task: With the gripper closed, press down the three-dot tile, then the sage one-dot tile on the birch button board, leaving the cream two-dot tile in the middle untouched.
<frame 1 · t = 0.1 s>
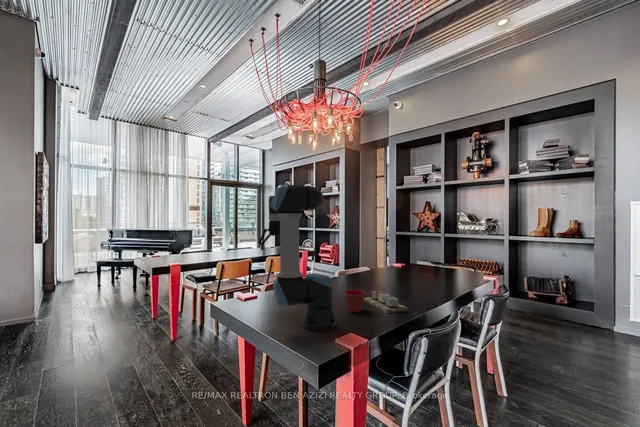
hand: (275, 255, 176), 28 cm above the table, fingers open, 13 cm apart
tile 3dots: (377, 294, 171), point 4 cm above the table, slide at 0.0 cm
flower pot: (354, 310, 155), on the table
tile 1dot: (391, 301, 156), point 4 cm above the table, slide at 0.0 cm
button board: (384, 305, 163), on the table
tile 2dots: (384, 297, 164), point 4 cm above the table, slide at 0.0 cm
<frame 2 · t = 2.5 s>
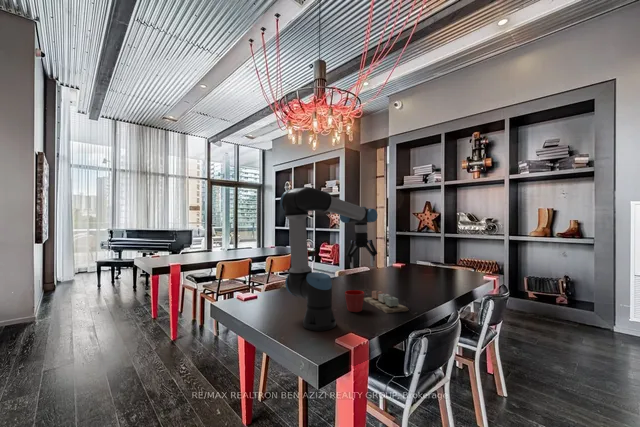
hand: (362, 267, 173), 20 cm above the table, fingers open, 13 cm apart
nothing on the table moved.
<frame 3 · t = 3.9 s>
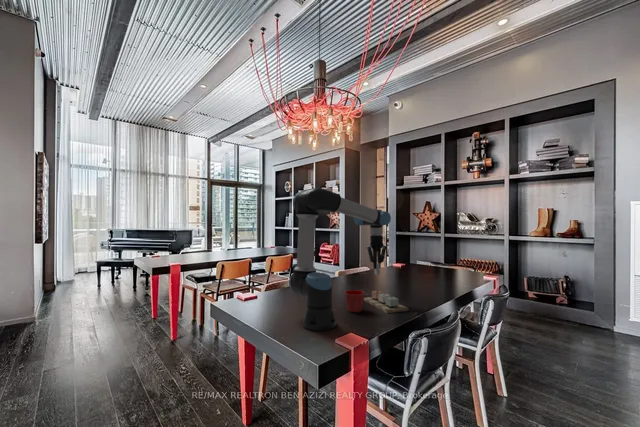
hand: (377, 274, 172), 16 cm above the table, fingers closed
nothing on the table moved.
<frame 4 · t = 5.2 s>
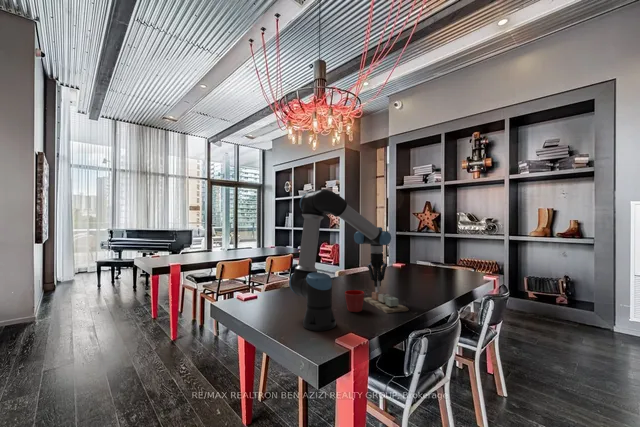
hand: (377, 291, 171), 6 cm above the table, fingers closed
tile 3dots: (377, 295, 171), point 4 cm above the table, slide at 0.7 cm, touching gripper
everything else where it was.
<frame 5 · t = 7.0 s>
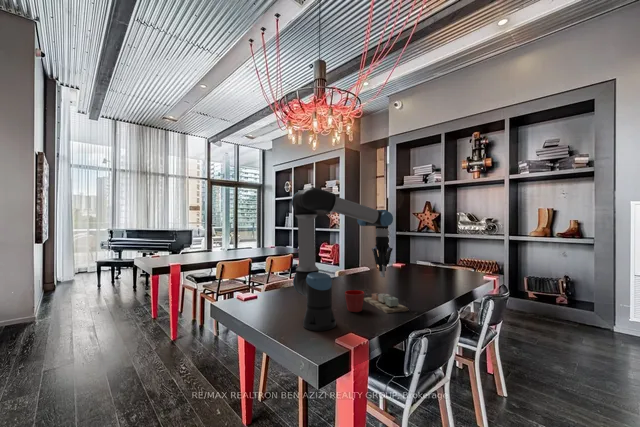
hand: (382, 276, 165), 16 cm above the table, fingers closed
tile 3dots: (377, 297, 171), point 3 cm above the table, slide at 1.6 cm
everything else where it was.
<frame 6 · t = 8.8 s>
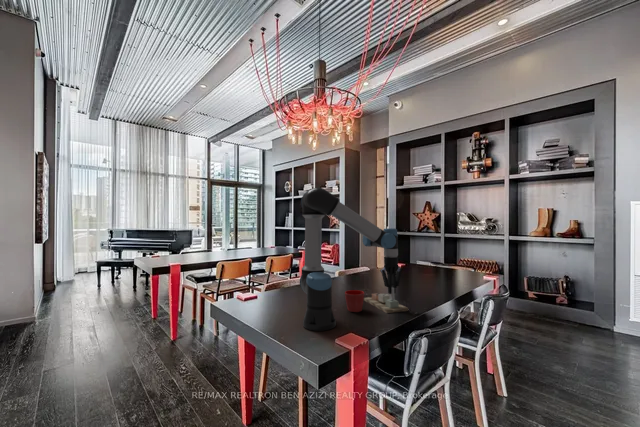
hand: (392, 299, 156), 5 cm above the table, fingers closed
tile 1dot: (391, 303, 156), point 3 cm above the table, slide at 1.2 cm, touching gripper
everything else where it was.
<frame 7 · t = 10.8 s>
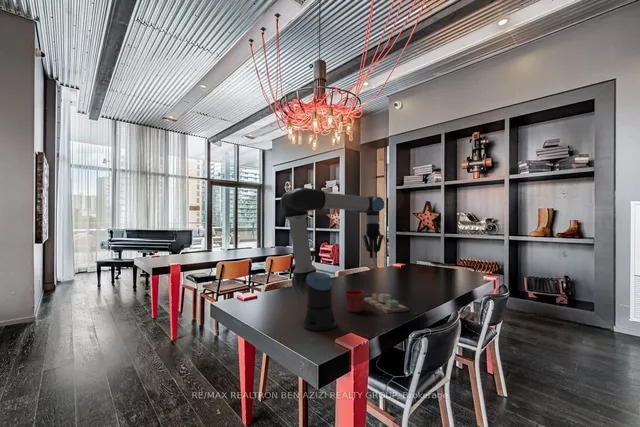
hand: (373, 263, 165), 24 cm above the table, fingers closed
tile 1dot: (391, 304, 156), point 3 cm above the table, slide at 1.6 cm
everything else where it was.
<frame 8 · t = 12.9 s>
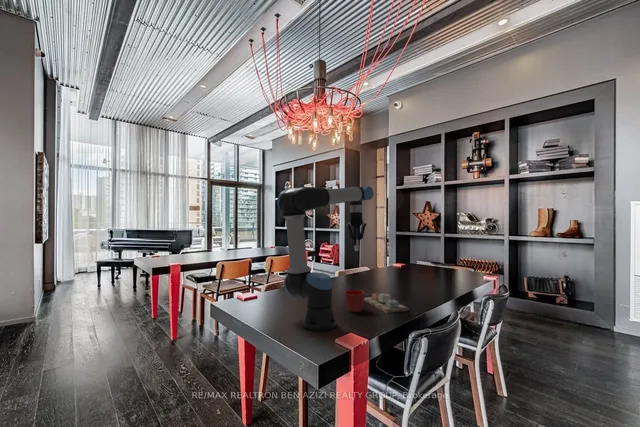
hand: (356, 250, 174), 30 cm above the table, fingers closed
nothing on the table moved.
at the end: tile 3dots slide at 1.6 cm; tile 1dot slide at 1.6 cm; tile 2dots slide at 0.0 cm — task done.
